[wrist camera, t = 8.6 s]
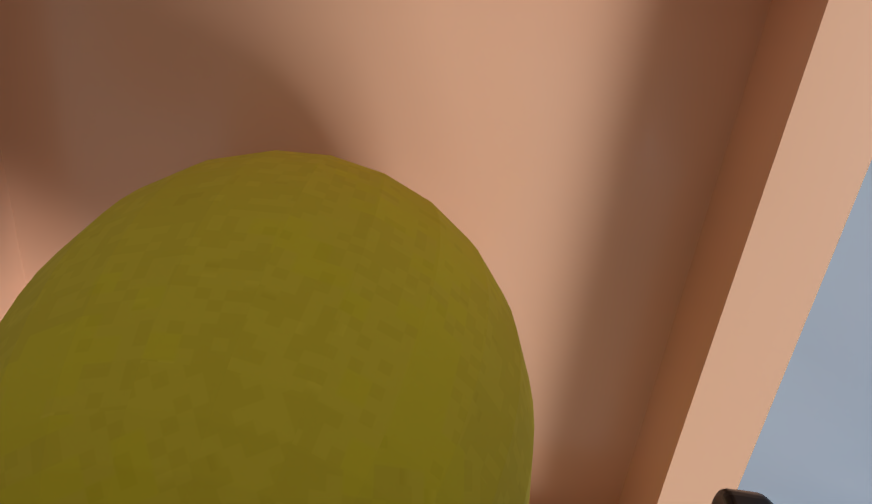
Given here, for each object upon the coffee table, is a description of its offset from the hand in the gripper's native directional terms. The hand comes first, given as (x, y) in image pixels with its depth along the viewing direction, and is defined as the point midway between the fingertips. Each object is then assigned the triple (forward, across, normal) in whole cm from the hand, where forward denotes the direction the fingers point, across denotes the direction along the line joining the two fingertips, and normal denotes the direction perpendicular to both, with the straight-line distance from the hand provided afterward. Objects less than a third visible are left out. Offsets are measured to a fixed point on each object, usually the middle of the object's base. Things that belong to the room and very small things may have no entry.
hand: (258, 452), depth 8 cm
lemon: (+5, 0, 0) cm, 5 cm away
